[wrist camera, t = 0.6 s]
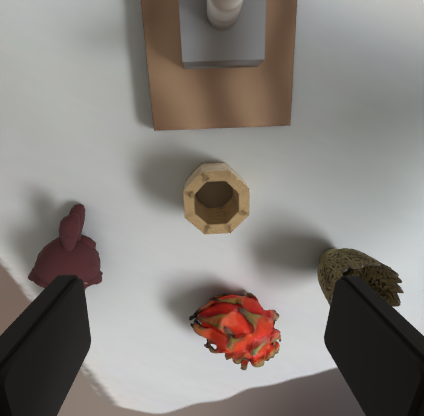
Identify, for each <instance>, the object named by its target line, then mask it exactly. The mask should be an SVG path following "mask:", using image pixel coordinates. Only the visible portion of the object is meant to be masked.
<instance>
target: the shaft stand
mask: <svg viewBox="0 0 424 416" xmlns="http://www.w3.org/2000/svg"><path fill="white" fill-rule="evenodd" d="M141 5H142V15H143V25H144V35H145V45H146V55H147V65H148V75H149V85H150V95H151V104H152V114H153V124H154V131H156V130H182V129H208V128H235V127H261V126H287V125H290V120H291V102H292V83H293V65H294V47H295V28H296V10H297V0H141Z"/></svg>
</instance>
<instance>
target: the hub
mask: <svg viewBox="0 0 424 416" xmlns="http://www.w3.org/2000/svg"><path fill="white" fill-rule="evenodd" d="M213 181H226V182H227V183H228V184H229V185H230V186H232V187H233V197H232V198H231V199H230V200H229V201H228V202H227V203H226V204H225V205H224V206H223V207H221V208H207V207H206V206H204V205H203V204H202V203H201V202H200V201H199V200H197V199H196V192H197V191H198V190H199V189H200V188H201V187H202V186H203V185H204V184H205V183H206V182H213ZM183 198H184V212H185V218H186V219H187V220H188V221H190V222H191V223H192V224H193V225H194V226H195V227H197V228H198V229H199V230H200V231H201V232H203V233H204V234H218V233H231V232H232V231H233V230H234V229H235V228H236V227H237V226H238V225H239V224H240V223H241V222H242V221H243V220H244V219H245V218H246V217H247V216H248V215H249V187H248V186H247V185H246V183H245V182H244V181H243V179H242V178H241V177H240V176H239V175H238V174H237V173H236V172H234V171H233V170H232V169H231V168H230V167H229V166H228V165H227V164H226V163H225V162H223V163H202V164H201V165H200V166H199V167H198V168H197V169H196V170H195V171H194V172H193V174H192V175H191V176H190V177H189V178H188V179H187V180H186V183H185V186H184V190H183Z"/></svg>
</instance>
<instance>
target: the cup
mask: <svg viewBox="0 0 424 416" xmlns="http://www.w3.org/2000/svg"><path fill="white" fill-rule="evenodd" d="M341 276H359V277H361V278H362V279H363V280H364V281H365V282H366V283H367V284H368V285H369V286H370V287H371V288H373V289H374V290H375V291H376V292H377V293H378V294H379V295H380V296H381V297H382V298H383V299H384V300H385V301H386V302H388V303H389V304H390V305H391V306H393V307H395V306H400V299H399V297H398V294H397V292H398V293H404V292H403V290H402V289H401V287H400V286H399V285H398V284H397V283H402V281H401V279H400V278H398V276H399V275H398V274H397V273H396V272H395V271H394V270H392V269H391V268H390V267H388V266H386V265H384V264H382V263H381V262H379V261H377V260H375V259H374V258H372V257H370V256H368V255H366V254H365V253H362V252H360V251H357V250H354V249H348V248H343V249H329V250H326V251H325V252H324V253H323V254H322V255H321V256H320V259H319V267H318V281H319V284H320V287H321V289H322V291H323V293H324V295H325V297H326V299H327V301H328V303H329V305H330V306H331V301H332V296H333V292H334V287H335V283H336V281H337V280H339V279H340V277H341Z"/></svg>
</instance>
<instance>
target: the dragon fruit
mask: <svg viewBox="0 0 424 416" xmlns="http://www.w3.org/2000/svg"><path fill="white" fill-rule="evenodd" d="M210 300H212V301H210V302H209V303H208V304H206V305H205V306H203V307H201V308H199V309H198V310H197V311H196V312H195V313H194V315H193V316H190V317H189V319H190V320H192V319H194V318H195V317H196V318H195V320H194V322H193V324H192V323H191V324H190V325H191V326H192V328H193V329H194V331H195V332H196V333H197V334H198V335H200V336H203V337H205V338H207V343H206V345H205V344H204V346H205V347H206V348H209V350H210V352H212V353H225V358H226V360H228V359H231V358H232V359H233V362H234V363H235V364H240V363H241V369H242V370H246V369H247V364H248V362H249V361H250V362H251V364H252V366H254V367H261V366H263V365H264V361H268V360H269V359H270V358H273V357H274V355H275V354H276V353H278V351H279V343H278V342H277V341H276V340H277V339H279V341H281V335H280V331H279V330H277V329H274V324H275V321H277V319H278V318H279V314H278V313H276V311H275V310H268V311H266V310H263V308H262V307H261V305H260V304H259V302H258V299H257V298H256V297H255V296H254V295H253V294H251V293H247V294H246V295H245V296H237V295H232V294H230V295H226V294H222V295H218V296H215V297H212V298H211V299H210ZM197 315H198V316H197ZM196 319H198V320H199V322H201V323H202V325H201V324H200V323H199V322H198V321H197V320H196ZM211 344H215V345H216V346H217V349H214V348H213V347H212V346H211Z"/></svg>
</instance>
